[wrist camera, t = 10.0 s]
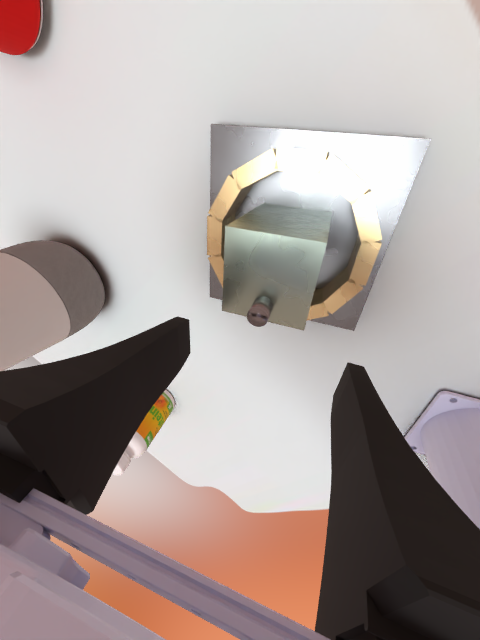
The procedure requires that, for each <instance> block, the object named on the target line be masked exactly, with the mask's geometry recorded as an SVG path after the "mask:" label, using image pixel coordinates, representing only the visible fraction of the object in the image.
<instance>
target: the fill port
mask: <svg viewBox="0 0 480 640" xmlns="http://www.w3.org/2000/svg"><path fill="white" fill-rule="evenodd" d="M430 140H431V139H425V138H411V137H396V136H381V135H367V134H352V133H337V132H323V131H308V130H293V129H279V128H264V127H249V126H235V125H220V124H211V189H210V210H209V212H208V213H209V214H210V215H209V216H207V255H210V257H209V258H208V259H209V261H210V297H212V298H216V299H221V300H222V298H223V272H224V246H225V226H227V225H228V224H230V223H231V222H233V221H235V220H236V219H238V218H240V217H241V216H243V215H245V214H246V213H248V212H249V211H251V210H253V209H254V208H256V207H258V206H259V205H261V204H263V203H269V204H276V205H283V206H291V207H298V208H305V209H313V210H320V211H327V212H332V215H331V222H330V228H329V234H328V241H327V245H326V249H325V253H324V257H323V260H322V264H321V268H320V272H319V275H318V279H317V283H316V287H315V291H314V294H313V298H312V302H311V306H310V309H309V313H308V317H307V320H311V321H315V322H319V323H324V324H328V325H332V326H336V327H341V328H345V329H349V330H353V331H354V329H355V327H356V324H357V322H358V319H359V317H360V314H361V312H362V309H363V307H364V304H365V302H366V299H367V297H368V294H369V292H370V289H371V287H372V284H373V282H374V279H375V277H376V274H377V272H378V269H379V267H380V265H381V262H382V260H383V257H384V255H385V252H386V250H387V247H388V245H389V242H390V240H391V237H392V235H393V232H394V230H395V227H396V225H397V222H398V220H399V217H400V215H401V212H402V210H403V207H404V205H405V202H406V200H407V198H408V195H409V193H410V190H411V188H412V185H413V183H414V180H415V178H416V175H417V173H418V170H419V168H420V165H421V163H422V160H423V158H424V155H425V153H426V150H427V148H428V145H429V143H430Z"/></svg>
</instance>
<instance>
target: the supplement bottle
mask: <svg viewBox="0 0 480 640" xmlns="http://www.w3.org/2000/svg"><path fill="white" fill-rule="evenodd" d="M174 406H175V402H174V399H173V397H172V395H171V394H170V393H169V392H168V391H167V390H165V391H164V392H163V393H162V395H161V396H160V397H159V399H158V400H157V401H156V402H155V404H154V405H153V406H152V408H151V409H150V411H149V412H148V413H147V415H146V416H145V418H144V420H143V421H142V423H141V424H140V426H139V428H138V429H137V431H136V432H135V434H134V436H133V438H132V439H131V441H130V443H129V444H128V446H127V448H126V449H125V451H124V453H123V455H122V457H121V458H120V460H119V462H118V464H117V466H116V467H115V469H114V471H113V473H112V474H113V475H122V474H123V472H124V471H125V469H126V468H127V467H128V466H129V464H130V462H131V458H137V457H140V456H141V455H143V453H144V452H145V451H146V450H147V448H148V447H149V445H150V443H151V442H152V440H153V439H154V437H155V436H156V434H157V433H158V431H159V430H160V428H161V427H162V425H163V424H164V422H165V421H166V419H167V418H168V416H169V415H170V413H171V412H172V410H173V409H174Z"/></svg>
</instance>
